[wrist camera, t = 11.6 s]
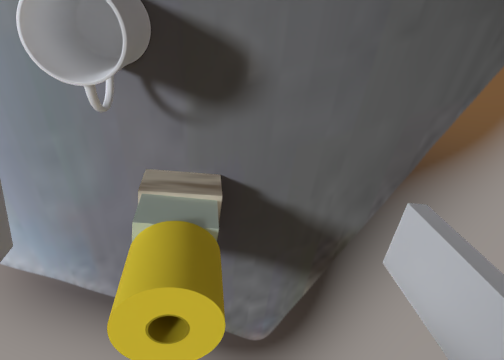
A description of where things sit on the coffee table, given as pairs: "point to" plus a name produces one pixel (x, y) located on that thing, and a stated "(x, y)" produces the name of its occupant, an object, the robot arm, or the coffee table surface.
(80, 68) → the mug
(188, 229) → the yellow hollow cylinder
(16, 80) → the coffee table surface
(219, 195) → the base block
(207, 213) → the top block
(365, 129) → the coffee table surface
